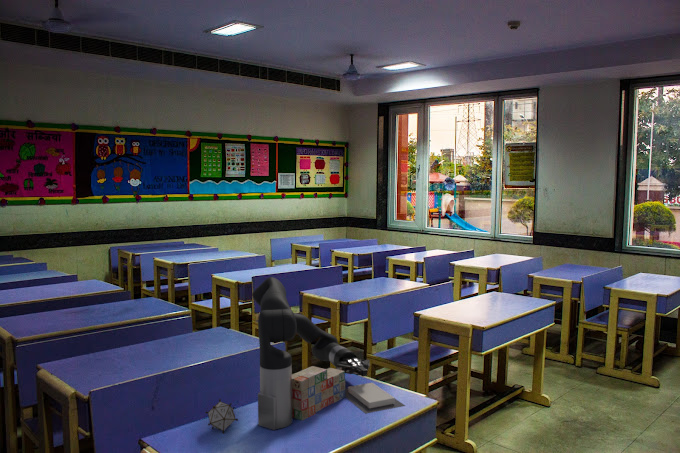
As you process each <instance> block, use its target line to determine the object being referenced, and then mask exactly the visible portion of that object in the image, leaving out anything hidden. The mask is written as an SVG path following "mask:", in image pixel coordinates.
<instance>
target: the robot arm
mask: <svg viewBox="0 0 680 453" xmlns="http://www.w3.org/2000/svg"><path fill="white" fill-rule="evenodd" d="M251 296H252V298H253V300H254V301H255V303H256V304H257V305H258V306H259V308H260V309H259V310H260V312H259V314H258V318H257V320H258V321H257V328H258V330H257V331H258V342H259V392H258V393H257V420H258V422H257V423H258V426H260V427H263V428H265V429H266V428H267V429H269V430H273V431H276V430H277V429H283V428H287V427H289V426H290V425H292V423H293V418H292V374H293V368H292V365H293V363H292V361H293V360H292V358H293V357H292V354H290V353H289V352H287V351H285V350H282V349H280V348H276V347H275V346H273V345H272V344H271V343H283V342H289V341H292V340H294V338H295V336H296V334H297V335H298V336H299V337H300V338H301V339H302V340H304V342H305V343H307V344H311V343H312V342H313V343H314V341H316V340H317V341H316V343H315V344H313V346H312V348H311V352H312V356H314V358H315V359H317V360H320V361H322V362H330V363H331V364H332V365H333V366H334V367H335V368H336V369H338V370H342V371H345V374H348V375H353V374H355V375H359V376H360V377H367V376H368V371H369V369H370V359H365V360H362V359H361V358H358V356H357V355H356V353H354V352H353V351H351V350H350V349H349V348H346V347H345V346H342V345H340V344H339V341H338V339H337V337H336V336H335V335H333V334H332V333H329V332H327V331H325V330H323V329H321V328H320V327H318V326H317V325H316V324H315V323H314V322H312V320H310V318H308V317H307V316H306V315H304V314H301V313H295V312H294V311H293V310H292V308H291V307H290V304H289V302H288V298H287V291H286V287H285V286H284V285H283V283H282V282H281V281H280V280H279V279H278V278H275V277H273V276H271V277H270V276H269V277H267V278H266V279H264V280H263V282H262V283H260V284H259V286H257V288H255V290H253V292H252V293H251Z"/></svg>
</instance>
